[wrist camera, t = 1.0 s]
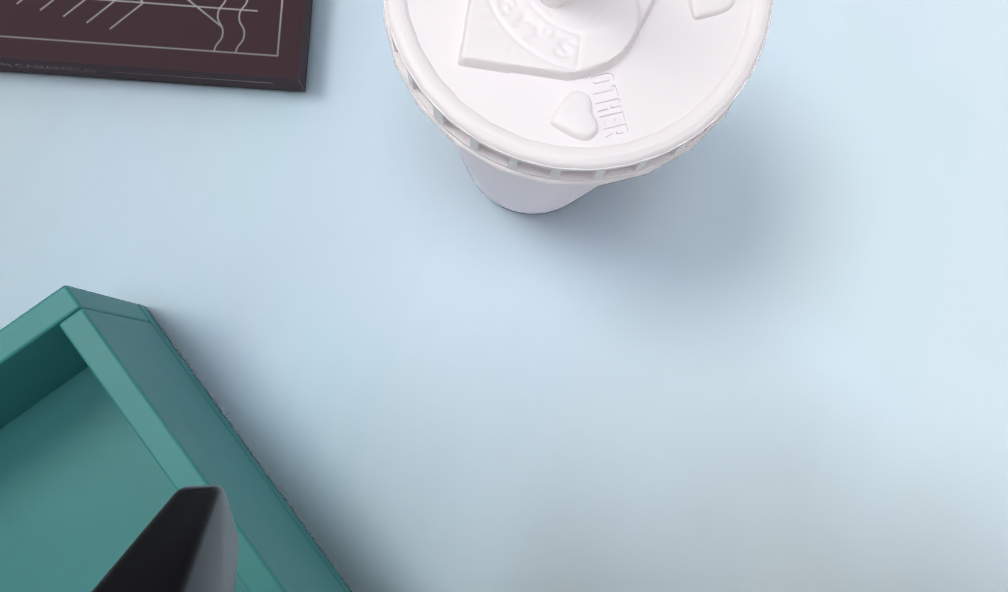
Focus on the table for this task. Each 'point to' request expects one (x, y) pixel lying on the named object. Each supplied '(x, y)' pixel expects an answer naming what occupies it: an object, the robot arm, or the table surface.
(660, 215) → the table surface
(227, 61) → the chocolate bar
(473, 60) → the smoothie
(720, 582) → the table surface
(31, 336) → the bin
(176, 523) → the robot arm
